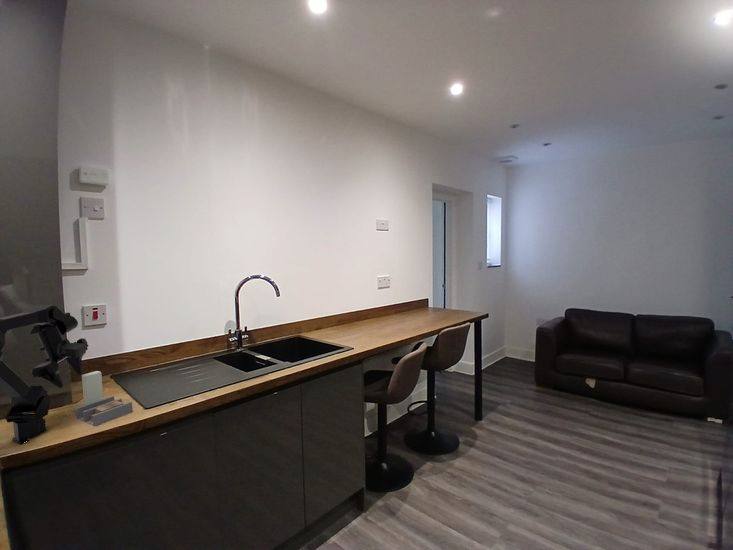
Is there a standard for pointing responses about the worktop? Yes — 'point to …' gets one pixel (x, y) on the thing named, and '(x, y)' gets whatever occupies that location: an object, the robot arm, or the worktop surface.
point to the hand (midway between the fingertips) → (71, 380)
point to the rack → (105, 416)
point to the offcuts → (106, 408)
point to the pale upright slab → (92, 387)
